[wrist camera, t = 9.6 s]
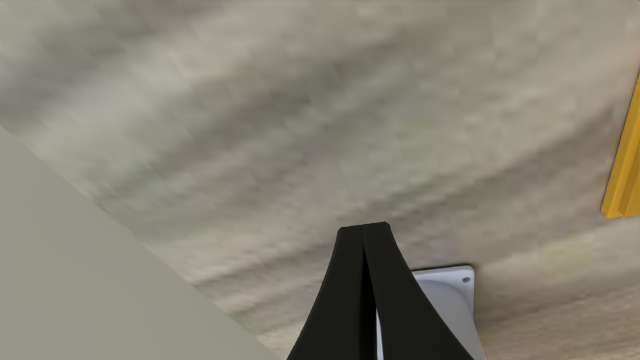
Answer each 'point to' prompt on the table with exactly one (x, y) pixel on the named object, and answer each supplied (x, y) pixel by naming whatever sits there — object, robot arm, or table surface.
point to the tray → (626, 167)
